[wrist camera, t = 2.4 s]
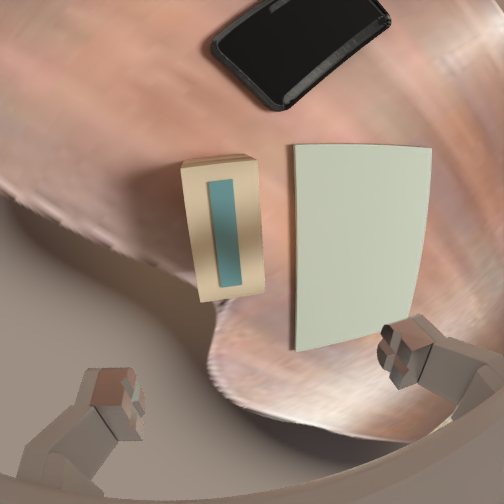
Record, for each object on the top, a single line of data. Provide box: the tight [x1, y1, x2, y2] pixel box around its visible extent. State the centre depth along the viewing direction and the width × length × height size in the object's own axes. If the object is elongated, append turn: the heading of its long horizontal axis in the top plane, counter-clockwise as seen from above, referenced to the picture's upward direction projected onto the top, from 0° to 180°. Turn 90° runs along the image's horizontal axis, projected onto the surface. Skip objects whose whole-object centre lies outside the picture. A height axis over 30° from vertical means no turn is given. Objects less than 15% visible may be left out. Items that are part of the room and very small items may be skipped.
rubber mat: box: [293, 144, 432, 352], centre depth 27 cm, size 20×14×1 cm
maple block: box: [180, 154, 265, 302], centre depth 21 cm, size 9×4×5 cm, turn 4°
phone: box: [211, 0, 391, 112], centre depth 18 cm, size 8×1×15 cm
